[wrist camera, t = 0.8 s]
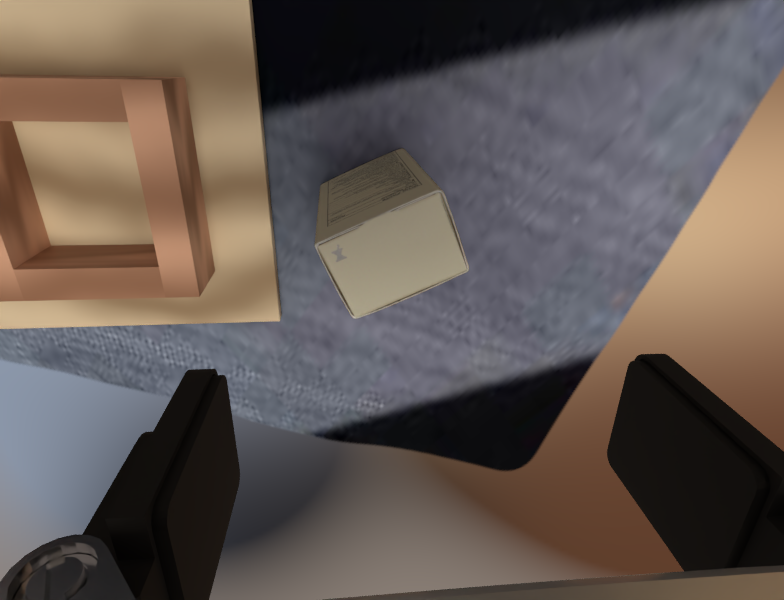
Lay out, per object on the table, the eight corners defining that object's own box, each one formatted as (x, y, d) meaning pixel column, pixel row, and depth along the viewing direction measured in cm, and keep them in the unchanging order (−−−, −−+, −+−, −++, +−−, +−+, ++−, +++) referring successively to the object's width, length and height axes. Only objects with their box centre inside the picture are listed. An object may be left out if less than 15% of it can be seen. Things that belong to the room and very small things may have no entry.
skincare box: (346, 240, 34) (347, 325, 23) (318, 183, 32) (305, 247, 21) (431, 204, 33) (474, 274, 22) (408, 143, 31) (443, 188, 20)
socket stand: (-140, -13, 25) (-243, -28, 21) (251, -1, 27) (233, -13, 23) (-7, 322, 34) (-59, 361, 30) (281, 314, 36) (272, 350, 31)
